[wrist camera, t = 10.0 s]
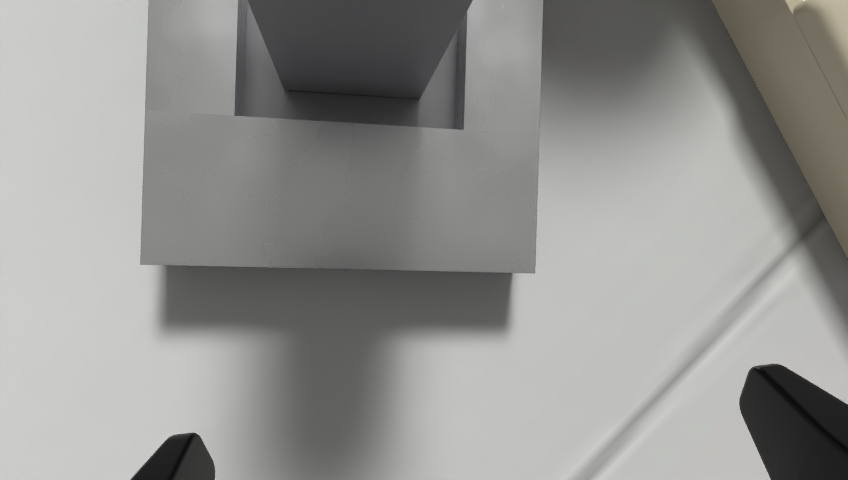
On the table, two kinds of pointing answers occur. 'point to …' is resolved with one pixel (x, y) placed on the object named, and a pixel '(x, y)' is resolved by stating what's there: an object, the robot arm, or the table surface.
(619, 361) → the table surface
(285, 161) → the socket plate
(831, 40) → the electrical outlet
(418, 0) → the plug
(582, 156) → the table surface
